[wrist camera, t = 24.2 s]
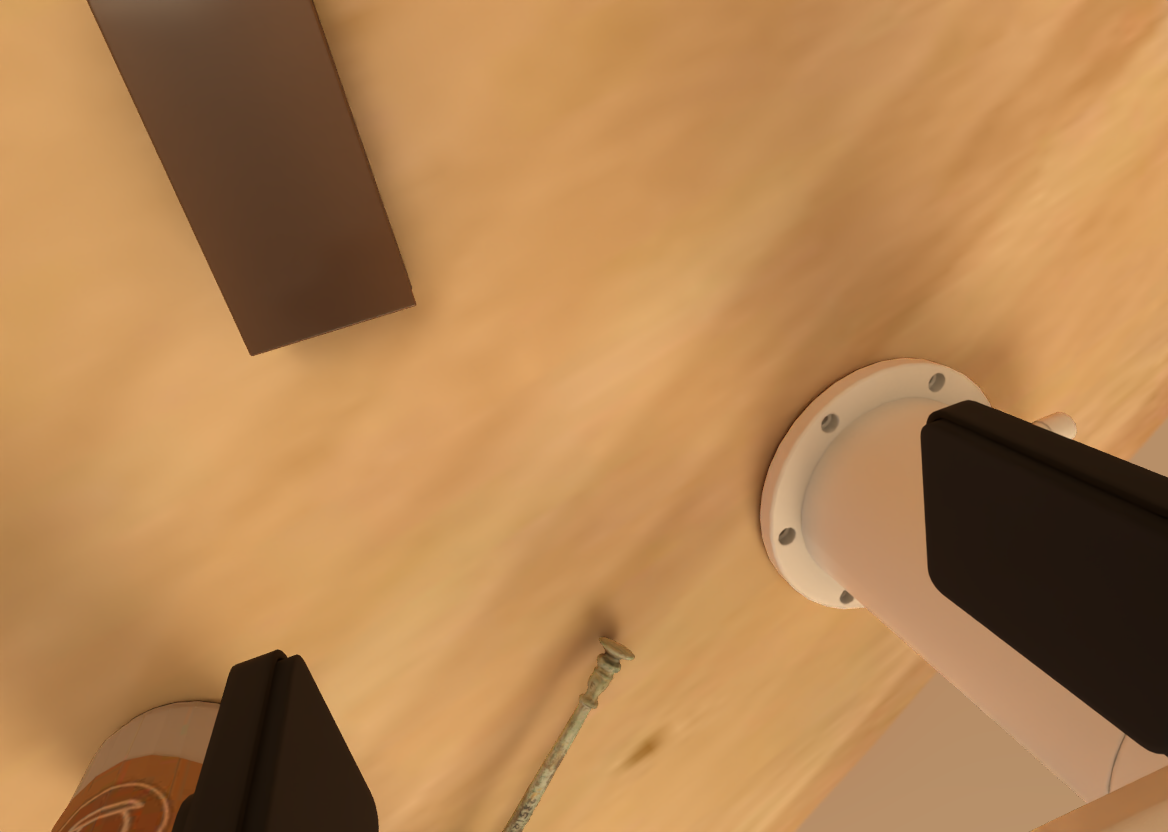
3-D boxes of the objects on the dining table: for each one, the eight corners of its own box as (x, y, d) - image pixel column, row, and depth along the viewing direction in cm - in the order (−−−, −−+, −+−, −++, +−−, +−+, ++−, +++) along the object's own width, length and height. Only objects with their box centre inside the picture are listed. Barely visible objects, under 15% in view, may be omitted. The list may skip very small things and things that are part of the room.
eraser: (297, -45, 20) (285, -88, 17) (411, 286, 25) (422, 311, 21) (115, -7, 20) (60, -45, 16) (265, 330, 24) (249, 364, 20)
